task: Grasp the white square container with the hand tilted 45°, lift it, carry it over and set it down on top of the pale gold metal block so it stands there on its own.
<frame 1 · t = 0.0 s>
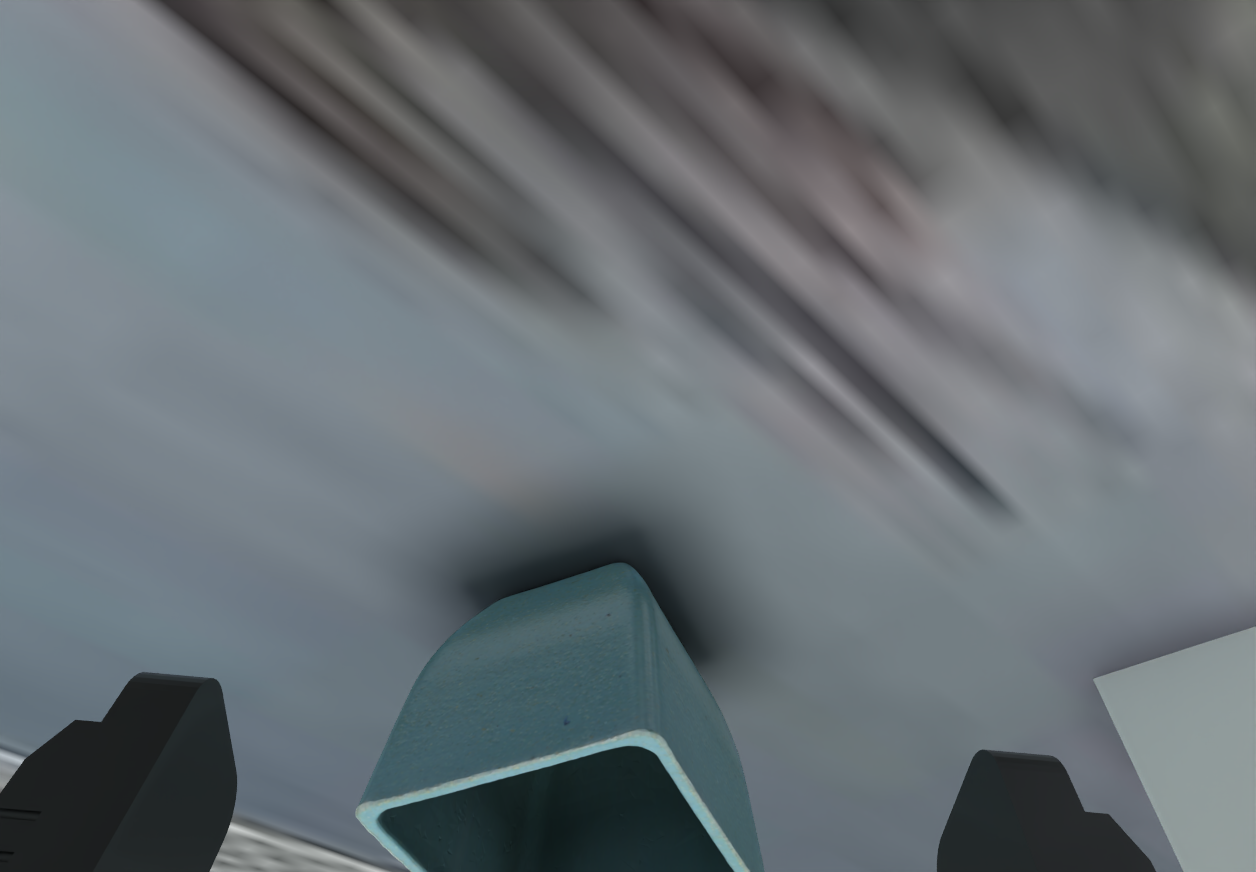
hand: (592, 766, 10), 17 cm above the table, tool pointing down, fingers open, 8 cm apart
white square container: (1201, 701, 34), on the table
flower pot: (594, 622, 33), on the table
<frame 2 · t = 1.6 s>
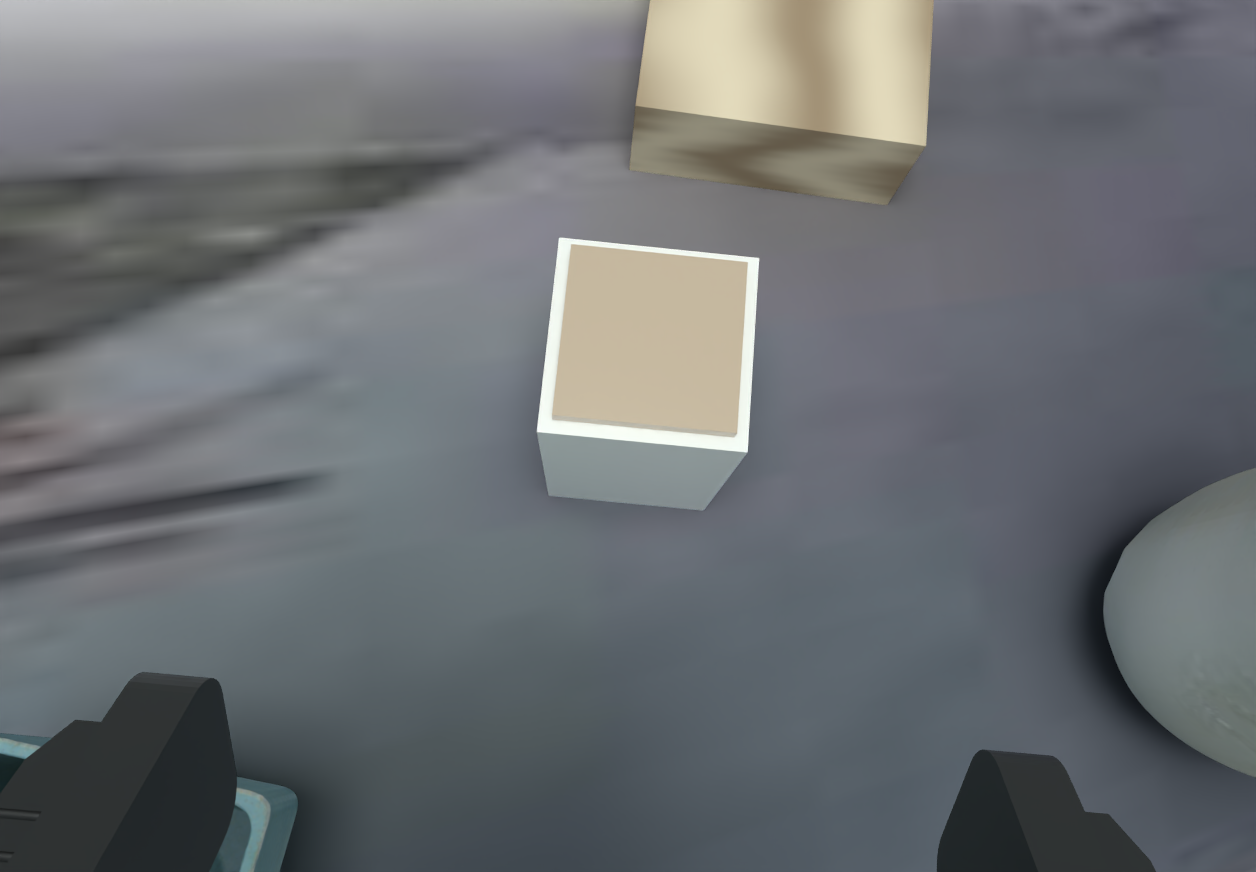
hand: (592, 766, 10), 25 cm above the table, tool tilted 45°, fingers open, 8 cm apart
white square container: (633, 428, 37), on the table
glass bottle: (1180, 631, 37), on the table
flower pot: (195, 869, 33), on the table
pale gold metal block: (768, 78, 42), on the table
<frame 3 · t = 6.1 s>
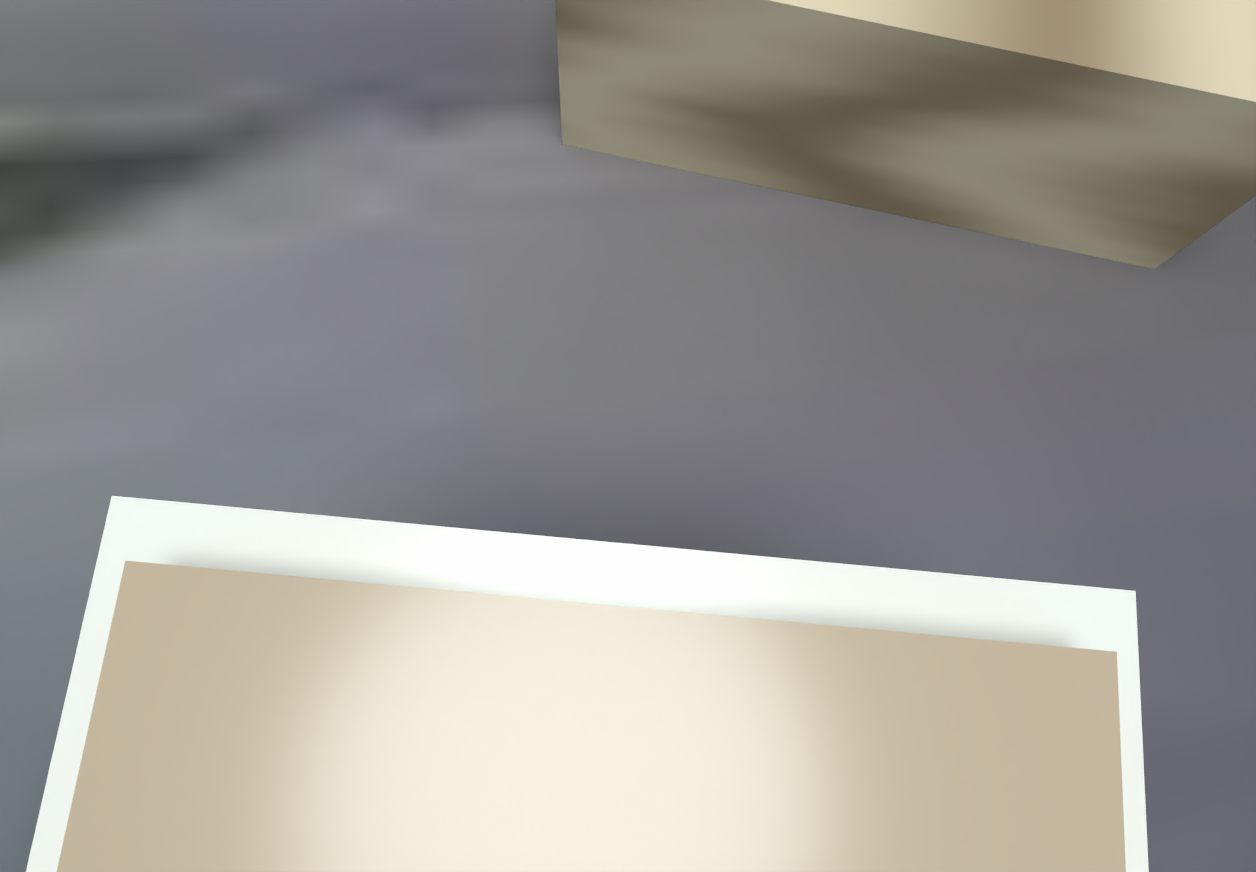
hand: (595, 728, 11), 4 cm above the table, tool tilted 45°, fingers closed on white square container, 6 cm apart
white square container: (584, 831, 14), on the table, touching gripper
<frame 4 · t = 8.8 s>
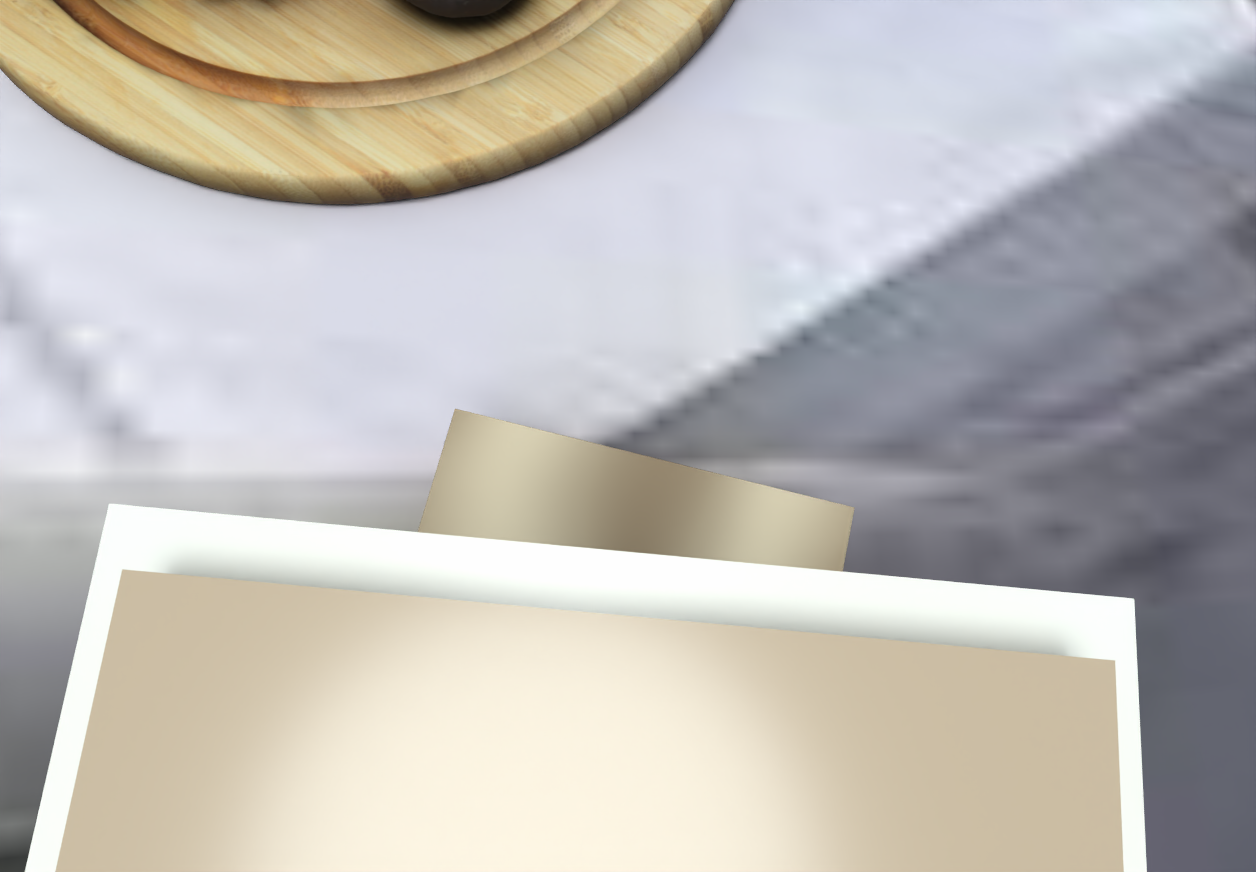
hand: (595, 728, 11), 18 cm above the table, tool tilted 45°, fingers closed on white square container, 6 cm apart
white square container: (584, 834, 14), point 14 cm above the table, touching gripper
pale gold metal block: (601, 665, 29), on the table
when the fingers open (10 cm above the table, at t = 11.5 s): white square container drops 1 cm, point 5 cm above the table.
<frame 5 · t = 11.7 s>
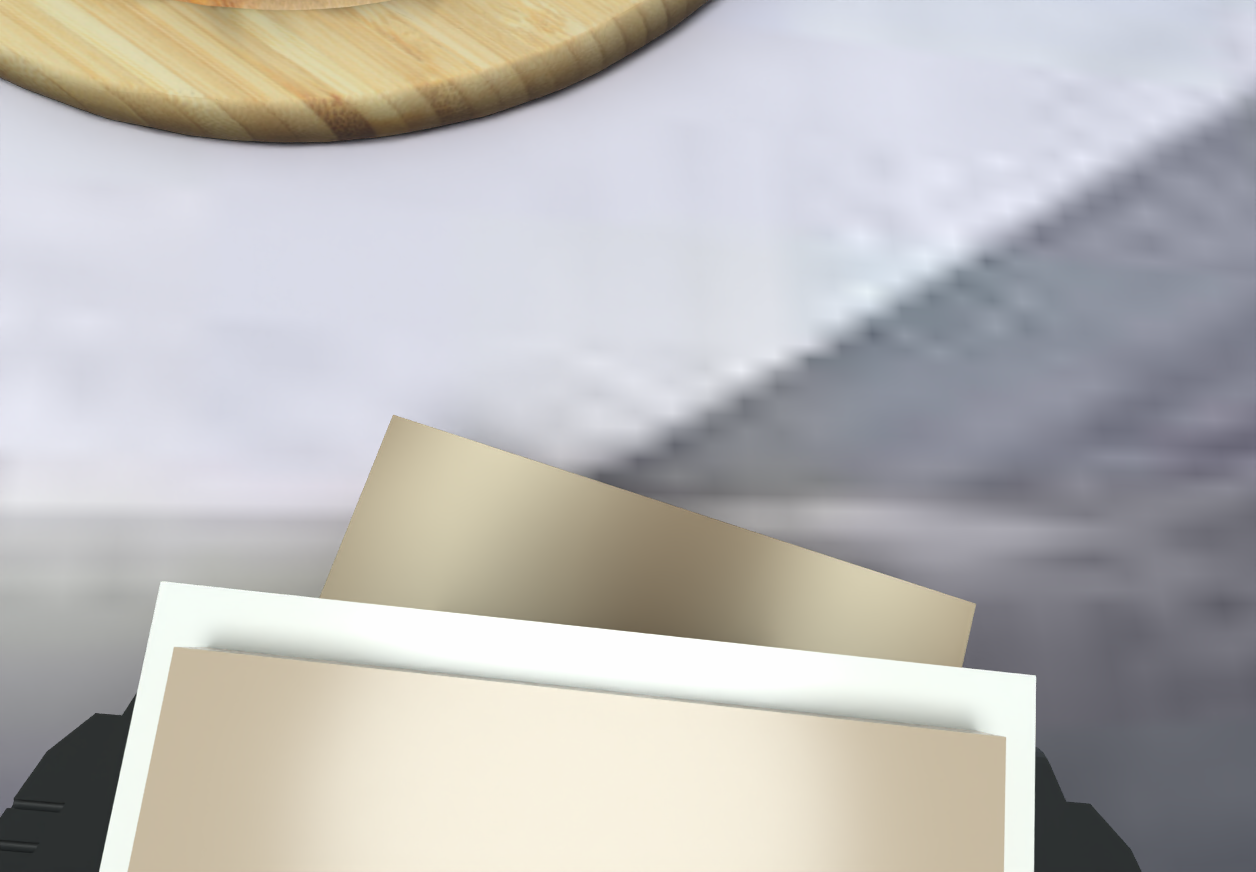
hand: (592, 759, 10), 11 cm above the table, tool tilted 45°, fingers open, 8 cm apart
white square container: (584, 828, 16), point 5 cm above the table
pale gold metal block: (585, 787, 21), on the table
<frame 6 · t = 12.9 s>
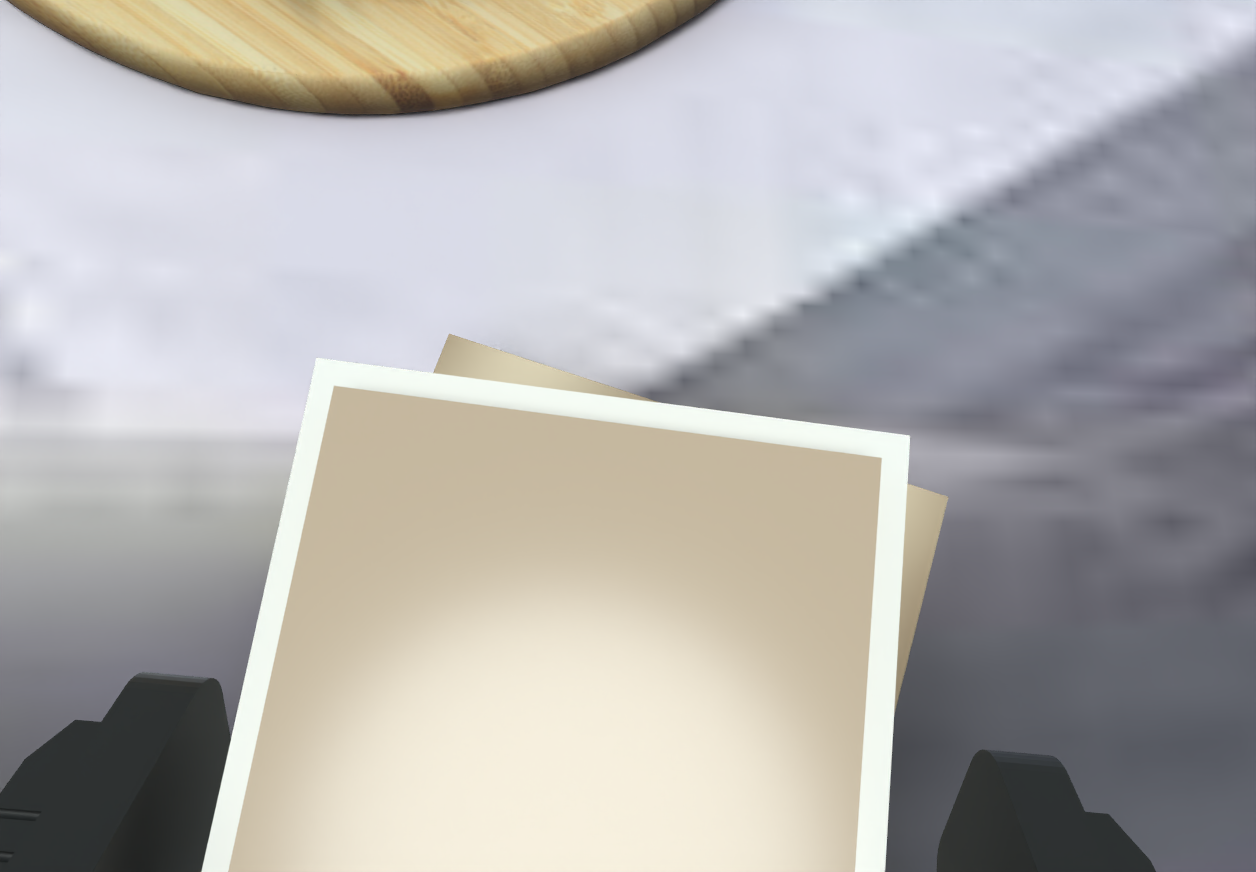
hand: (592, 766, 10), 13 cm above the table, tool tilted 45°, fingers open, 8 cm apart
white square container: (588, 691, 18), point 5 cm above the table, touching pale gold metal block
pale gold metal block: (608, 672, 23), on the table, touching white square container
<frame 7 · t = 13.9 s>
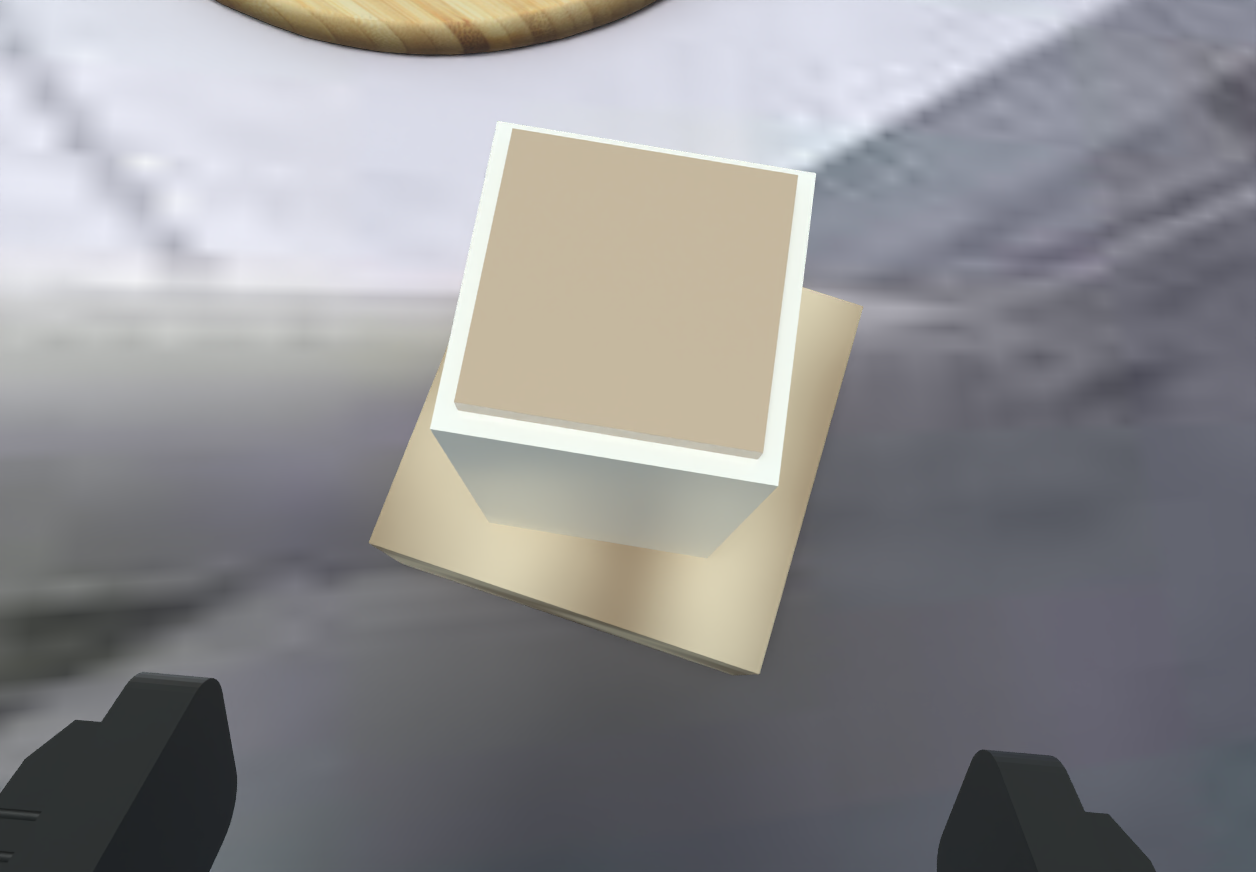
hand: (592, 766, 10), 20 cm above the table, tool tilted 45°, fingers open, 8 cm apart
white square container: (615, 434, 27), point 5 cm above the table, touching pale gold metal block
pale gold metal block: (620, 459, 32), on the table, touching white square container
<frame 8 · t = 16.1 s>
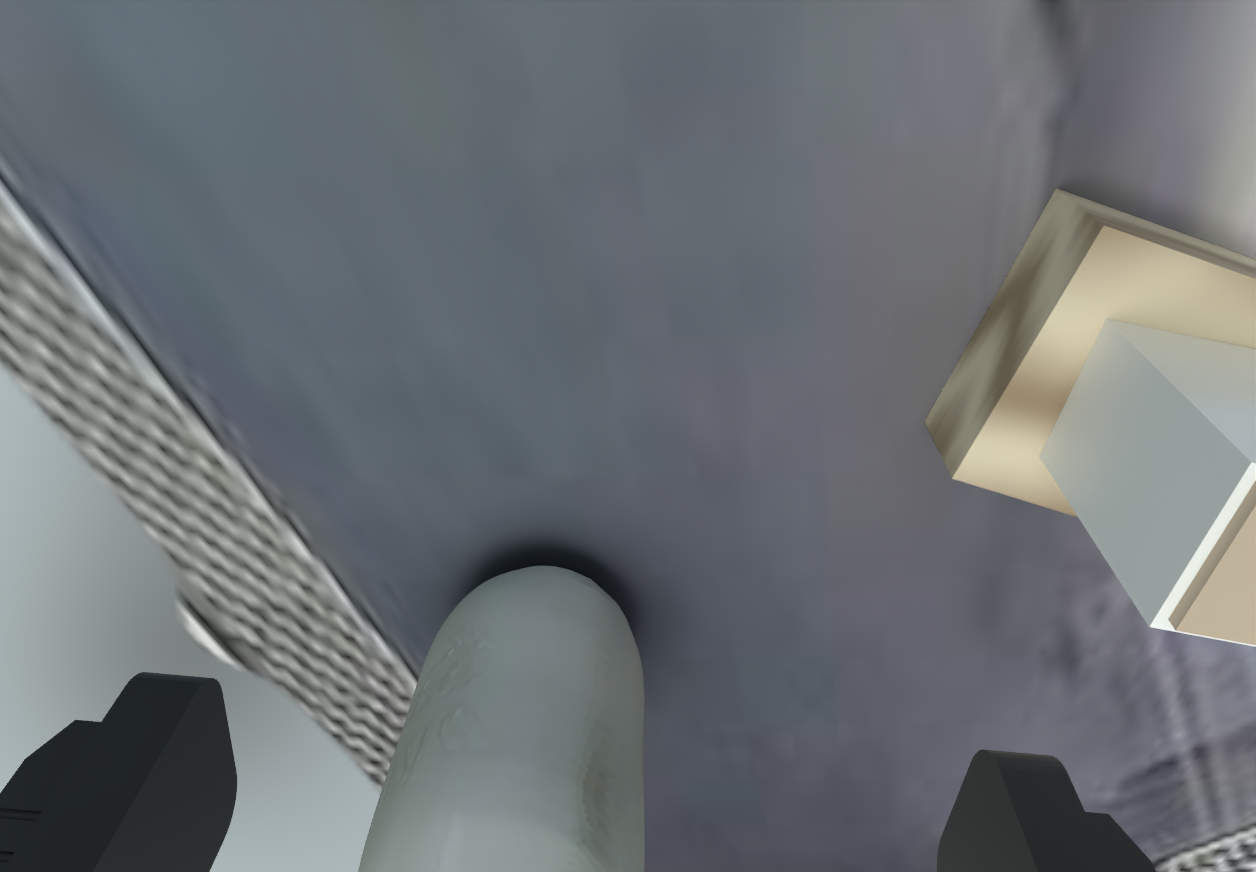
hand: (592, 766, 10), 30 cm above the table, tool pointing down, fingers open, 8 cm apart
white square container: (1146, 405, 36), point 5 cm above the table
glass bottle: (546, 604, 49), on the table
pale gold metal block: (1099, 348, 41), on the table
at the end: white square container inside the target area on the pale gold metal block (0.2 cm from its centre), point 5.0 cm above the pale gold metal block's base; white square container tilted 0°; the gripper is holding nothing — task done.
